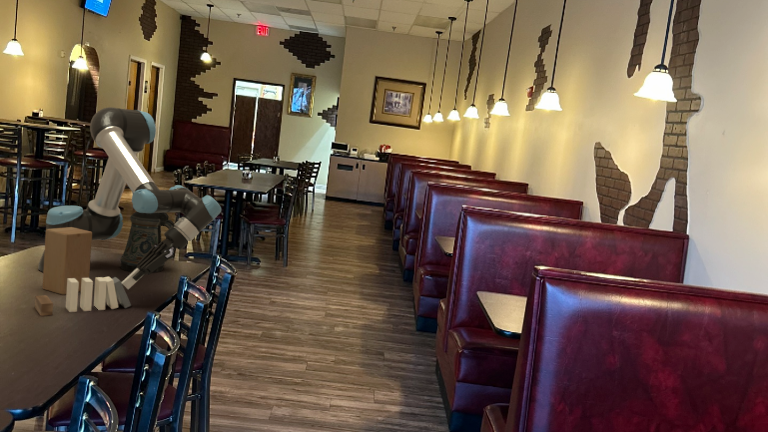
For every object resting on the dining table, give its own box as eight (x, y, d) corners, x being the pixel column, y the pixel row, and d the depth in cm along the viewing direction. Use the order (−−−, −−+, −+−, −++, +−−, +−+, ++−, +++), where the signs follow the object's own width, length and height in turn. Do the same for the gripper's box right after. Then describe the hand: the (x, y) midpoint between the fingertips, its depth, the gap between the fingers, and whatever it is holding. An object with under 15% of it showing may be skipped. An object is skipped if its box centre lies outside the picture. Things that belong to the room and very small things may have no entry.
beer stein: (119, 263, 260) (123, 201, 257) (169, 264, 268) (174, 205, 265) (120, 272, 245) (125, 207, 242) (174, 273, 253) (179, 210, 250)
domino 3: (100, 305, 202) (102, 277, 200) (104, 309, 198) (106, 281, 197) (93, 305, 200) (95, 277, 199) (98, 310, 196) (99, 281, 195)
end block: (45, 306, 194) (46, 295, 193) (52, 315, 187) (53, 303, 186) (34, 307, 192) (35, 295, 192) (40, 315, 185) (41, 303, 185)
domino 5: (126, 301, 206) (115, 276, 203) (131, 305, 202) (120, 280, 199) (120, 304, 205) (109, 279, 202) (125, 308, 201) (113, 283, 198)
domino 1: (72, 307, 197) (74, 278, 196) (76, 311, 193) (78, 282, 192) (65, 307, 195) (67, 278, 194) (69, 312, 191) (71, 282, 190)
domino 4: (113, 303, 204) (108, 276, 202) (118, 307, 200) (113, 280, 198) (107, 304, 203) (102, 277, 201) (111, 309, 199) (106, 281, 197)
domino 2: (86, 306, 199) (88, 277, 198) (91, 310, 195) (93, 281, 194) (79, 306, 198) (81, 277, 197) (84, 311, 194) (85, 281, 193)
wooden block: (88, 290, 216) (92, 231, 214) (62, 295, 207) (66, 234, 205) (68, 284, 221) (71, 226, 218) (41, 289, 211) (45, 228, 209)
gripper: (166, 222, 214) (110, 273, 206) (181, 229, 204) (122, 283, 196) (180, 238, 218) (126, 288, 210) (195, 245, 208) (139, 299, 200)
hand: (124, 286), depth 203 cm, fingers closed
